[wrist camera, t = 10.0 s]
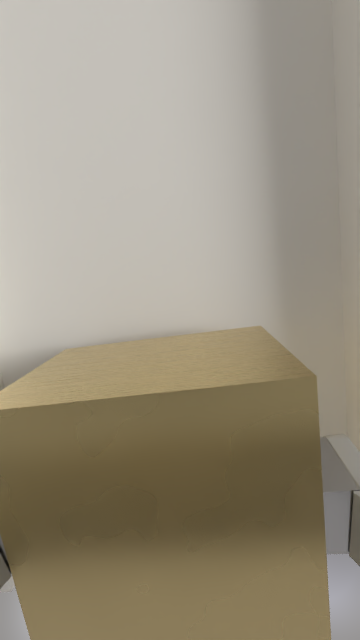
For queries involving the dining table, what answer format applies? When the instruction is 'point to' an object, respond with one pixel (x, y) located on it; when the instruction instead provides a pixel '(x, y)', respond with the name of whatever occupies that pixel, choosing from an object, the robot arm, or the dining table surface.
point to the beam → (182, 180)
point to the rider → (166, 492)
